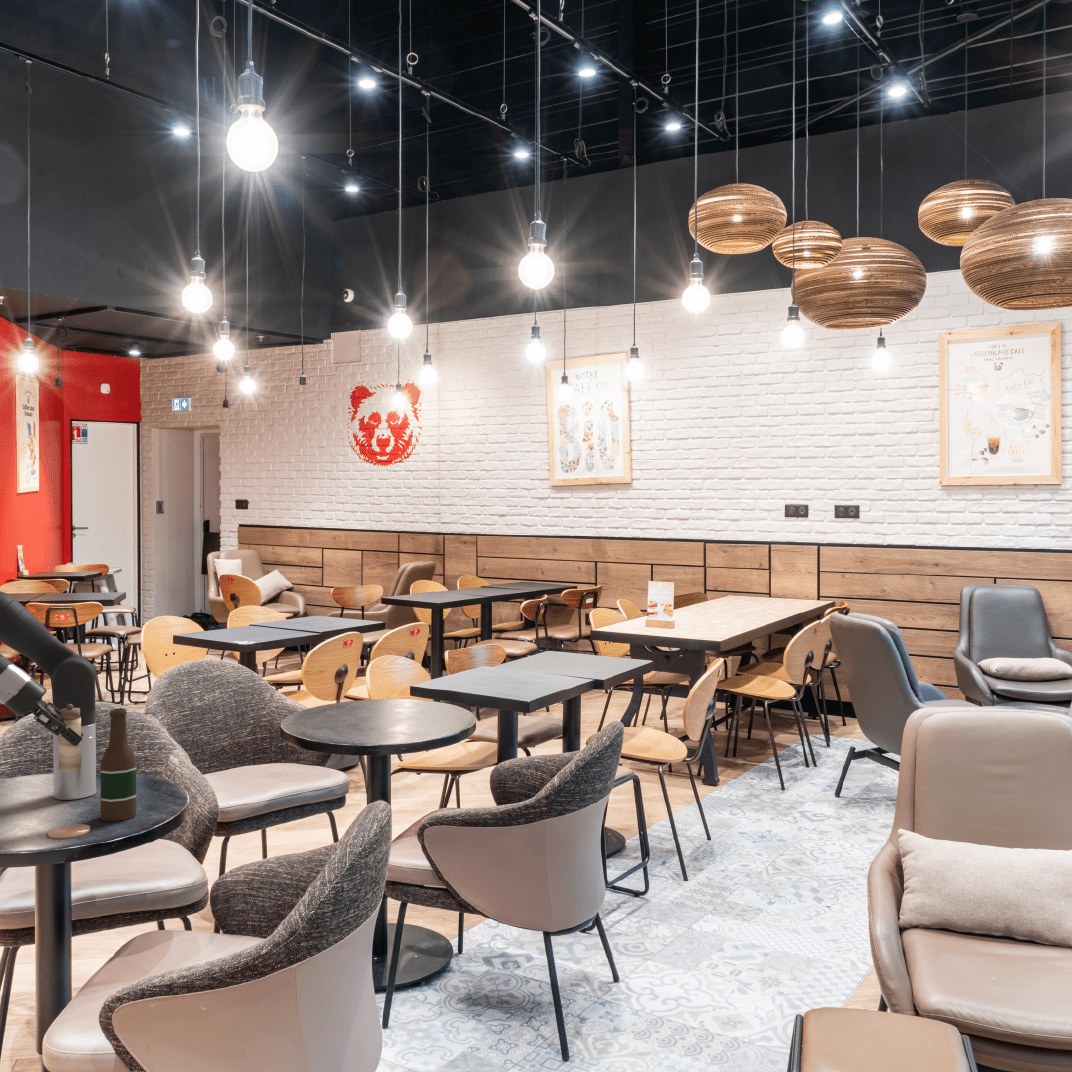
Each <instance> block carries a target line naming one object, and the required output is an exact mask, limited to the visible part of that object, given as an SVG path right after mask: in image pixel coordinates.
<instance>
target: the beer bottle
mask: <svg viewBox="0 0 1072 1072" xmlns="http://www.w3.org/2000/svg"><path fill="white" fill-rule="evenodd" d="M127 714H128V712H127V709H126V708H121V707H120V708H112V709H110V711H109V716H110V727H109V728H110V730H109V742H108V746H107V747H106V749H105V751H104V753H103V756H102V757H101V761H100V815H101V816H100V819H101V821H103V820H105V822H110V821H114V822H120V821H119V820H124V821H127V820H126V819H128V818H130V817H133V818H135V817H136V815H137V806H138V805H137V798H138V797H137V757H136V754H135V751H134V750H133V748H132V747H131V745H130V744H129V741H128V729H127V718H126V717H127V716H126V715H127ZM134 816H135V817H134ZM130 819H131V818H130ZM128 820H129V819H128Z"/></svg>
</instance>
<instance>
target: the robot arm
mask: <svg viewBox="0 0 1072 1072" xmlns="http://www.w3.org/2000/svg"><path fill="white" fill-rule="evenodd" d="M0 642H1V643H2V644H4V645H5V646H7V647H9V648H10V649H12V650H14V651H15V652H16V653H19V654H20V655H23V656H24V657H25V658H28V659H29V660H31V661H32V662H34V664H36V665H37V666H38V667H39V668H41V670H42V671H43V672H44V673H46V675H47V676H48V677H50V679H51V680H52V686H51V687H52V688H51V689H52V690H51V691H52V702H51V701H48V702H46V701H45V700H43V699H42V698H43V696H45V694H46V693H47V688H46V687H45V686H43V685H42V684H41V683H39V681H37V679H35V678H33V677H32V676H31V675H30V674H28V673H27V672H26V671H25V670H24V669H22V668H21V667H19V666H17V665H16V664H14V663H13V662H12V661H11V660H9V659H8V658H7V657H6V656H4V655H3V654H2V653H0V703H1V704H3V705H4V706H5V707H6V708H8V709H9V710H10V711H11V712H13V713H14V714H15V715H16V716H18V717H22V716H24V715H25V714H27V712H31V713H32V714H33V715H34V717H33V719H34V720H35V721H36V723H38V724H40V725H42V726H43V727H44V728H46V729H47V730H49V731H50V732H51V733H53V737H52V738H53V741H52V742H53V744H52V745H53V748H52V749H53V798H54V799H56V800H63V801H66V800H67V801H68V800H71V801H72V800H78V799H84V798H88V797H91V796H93V795H95V794H96V793H97V757H96V756H97V755H96V754H97V752H96V751H97V748H96V745H97V744H96V739H97V738H96V737H97V736H96V735H97V733H96V731H97V730H96V727H97V725H96V714H97V712H96V709H97V708H96V670H95V667H94V666H93V664H92V663H91V662H90V660H88V659H86V658H85V657H83V656H82V655H80V654H79V653H77V652H76V651H74V650H73V649H72V648H70V647H68V646H67V645H66V644H65V643H63V642H61V641H60V640H59V639H58V638H56V637H55V636H54V634H52V633H51V632H50V631H49V630H48V628H47V627H46V626H45V625H44V624H43V623H42V622H41V620H39V619H38V618H37V617H36V616H35V615H34V614H32V613H31V612H30V611H29V610H28V609H27V608H26V607H25V606H24V605H23V604H22V603H20V602H19V601H18V600H17V599H15V598H14V597H13V596H12V595H11V594H9V593H7V592H4V591H1V590H0ZM68 704H72V705H73V708H80V717H81V736H80V735H79V734H77V733H76V732H75V731H74V730H72V729H71V728H70V727H69V725H67V724H66V723H64V722H63V717H62V716H60V710H61V709H65V708H66V706H67V705H68ZM59 725H60V726H59ZM61 735H62V737H64V738H65V739H66V740H67V741H69V742H70V743H71V744H72V745H74V746H77V745H78V744H79V743H80V742H81V769H79V770H75V771H59V736H61Z"/></svg>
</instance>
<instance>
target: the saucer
mask: <svg viewBox="0 0 1072 1072" xmlns="http://www.w3.org/2000/svg"><path fill="white" fill-rule="evenodd" d="M90 831H91V826H90V825H89V824H84V823H72V824H66V825H60V826H56V827H54V828H52V829H49V830H48V832H47V837H48V838H51V839H57V840H58V839H60V840H62V839H70V838H71V839H73V838H76V837H81V836H84V835H86V834H88V833H90Z"/></svg>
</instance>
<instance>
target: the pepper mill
mask: <svg viewBox="0 0 1072 1072" xmlns="http://www.w3.org/2000/svg"><path fill="white" fill-rule="evenodd" d="M60 716H62V717H63V722H64V723H66V724H67V725H69V727H70V728H71V729H72V730H74V731H75V732H76V733H77V734H79V735H80V736H81V717H80V708H73V705H72V704H68V705H67V706H66V708H65V709H61V710H60ZM59 726H60V725H59ZM79 769H81V742H80V743H79V744H78V745H77V746H74V745H72V744H71V743H70V742H69V741H67V740H66V739H65V738H64V737H62V735H61V736H59V771H75V770H79Z"/></svg>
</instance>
